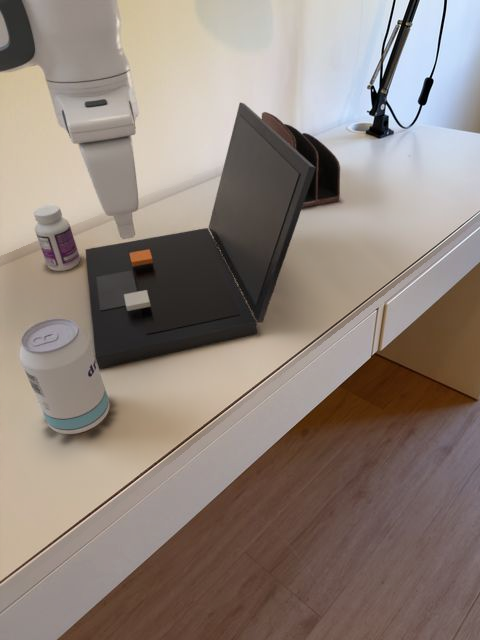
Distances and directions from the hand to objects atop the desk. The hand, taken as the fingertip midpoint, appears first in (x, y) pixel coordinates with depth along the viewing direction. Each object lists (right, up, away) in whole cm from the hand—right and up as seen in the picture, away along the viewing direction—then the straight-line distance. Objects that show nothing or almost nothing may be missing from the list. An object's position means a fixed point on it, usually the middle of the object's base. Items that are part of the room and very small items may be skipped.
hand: (123, 220), depth 66 cm
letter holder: (+25, +17, +43) cm, 53 cm away
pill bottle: (-16, -2, +22) cm, 27 cm away
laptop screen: (+15, +5, +9) cm, 18 cm away
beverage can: (-3, -24, -6) cm, 25 cm away
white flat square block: (0, -10, +7) cm, 13 cm away
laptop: (+2, -8, +14) cm, 16 cm away
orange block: (-1, -3, +17) cm, 17 cm away
